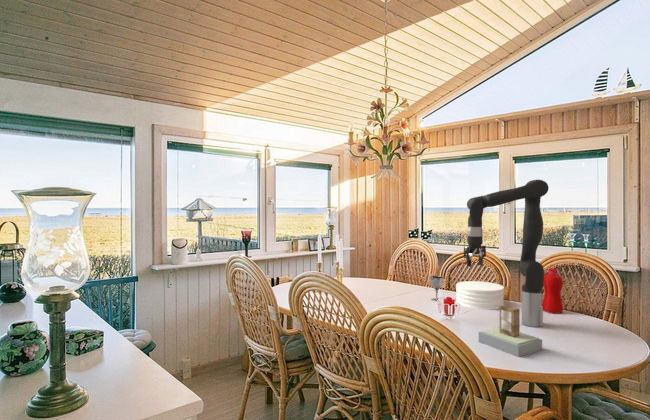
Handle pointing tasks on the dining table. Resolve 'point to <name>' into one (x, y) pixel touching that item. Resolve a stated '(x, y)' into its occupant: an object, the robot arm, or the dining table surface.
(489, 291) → the plate stack
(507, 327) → the frame
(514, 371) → the dining table surface
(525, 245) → the robot arm
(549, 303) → the water bottle
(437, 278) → the wine glass
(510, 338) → the display stand
